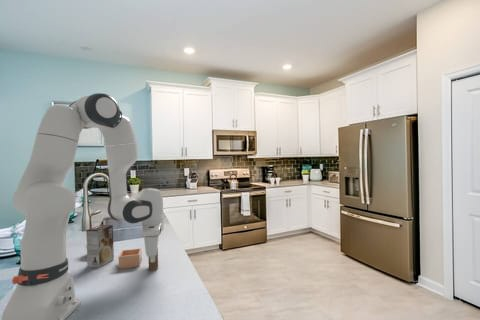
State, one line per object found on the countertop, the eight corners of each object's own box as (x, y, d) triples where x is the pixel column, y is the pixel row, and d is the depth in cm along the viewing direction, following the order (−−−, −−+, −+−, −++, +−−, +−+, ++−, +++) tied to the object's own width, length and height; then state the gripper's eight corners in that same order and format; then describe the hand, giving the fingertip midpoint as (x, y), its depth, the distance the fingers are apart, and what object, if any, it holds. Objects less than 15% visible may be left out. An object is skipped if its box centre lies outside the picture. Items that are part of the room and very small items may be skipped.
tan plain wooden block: (157, 269, 106) (157, 250, 106) (148, 270, 106) (148, 250, 106) (158, 266, 110) (157, 247, 110) (149, 267, 109) (149, 248, 109)
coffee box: (102, 258, 119) (101, 224, 119) (114, 259, 118) (113, 224, 118) (86, 267, 110) (85, 229, 110) (99, 268, 109) (98, 230, 109)
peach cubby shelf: (139, 266, 110) (139, 254, 110) (118, 268, 108) (118, 256, 108) (141, 259, 118) (141, 248, 118) (122, 261, 116) (122, 250, 116)
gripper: (146, 221, 117) (147, 252, 117) (141, 233, 97) (142, 270, 97) (161, 220, 119) (162, 250, 119) (159, 232, 99) (160, 268, 99)
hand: (153, 259), depth 108 cm, fingers closed on tan plain wooden block, 3 cm apart
